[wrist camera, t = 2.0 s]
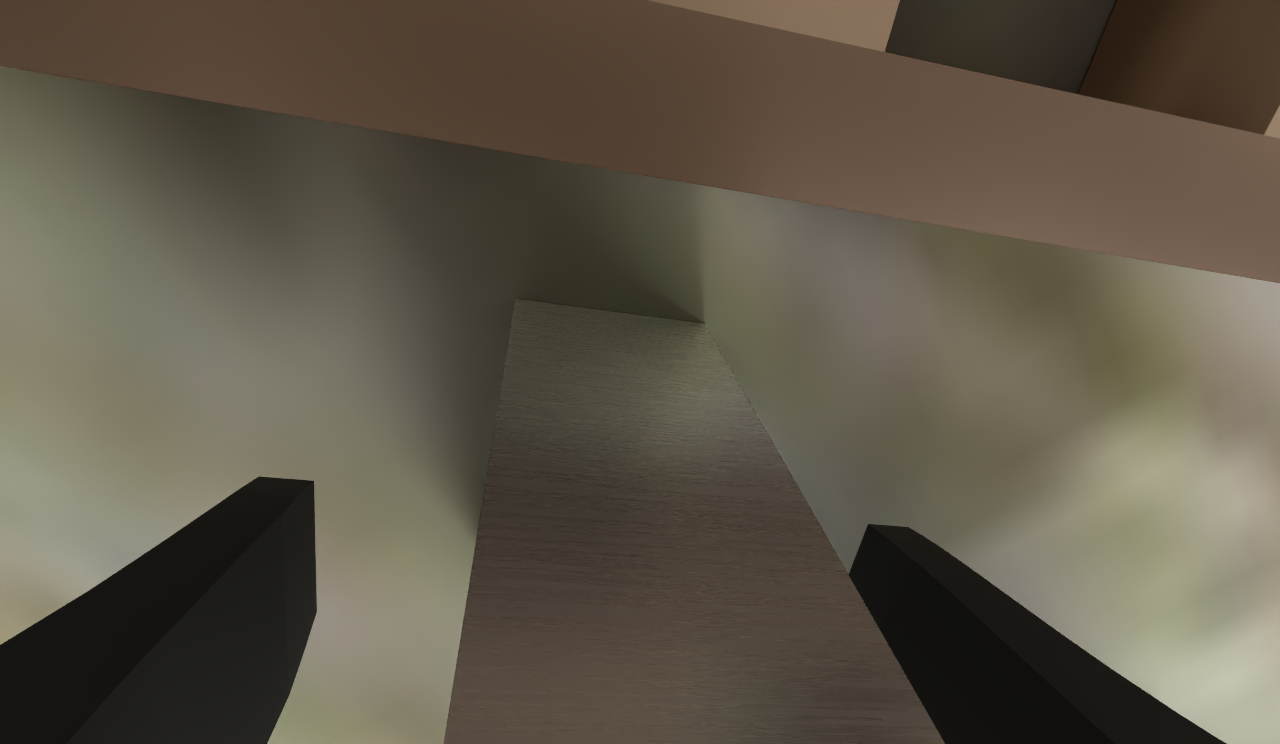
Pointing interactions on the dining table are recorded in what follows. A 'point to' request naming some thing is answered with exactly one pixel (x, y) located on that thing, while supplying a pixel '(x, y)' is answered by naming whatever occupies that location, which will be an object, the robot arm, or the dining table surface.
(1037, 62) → the dining table surface
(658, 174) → the brown holed block
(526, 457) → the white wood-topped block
